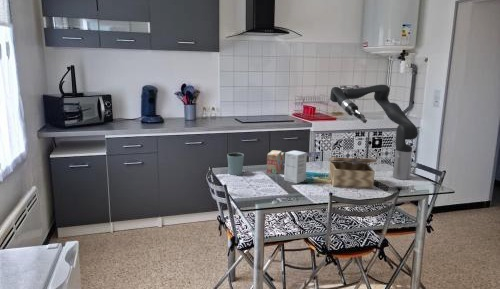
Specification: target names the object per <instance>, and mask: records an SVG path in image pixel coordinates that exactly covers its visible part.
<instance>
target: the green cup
mask: <svg viewBox="0 0 500 289" xmlns="http://www.w3.org/2000/svg"><path fill="white" fill-rule="evenodd" d="M244 159H245V154H244V153H243V152H242V153H241V152H230V153H227V169H228V170H227V173H228V174H229V175H231V176H241V175H243V170H244V168H243V167H244Z"/></svg>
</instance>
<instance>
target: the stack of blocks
mask: <svg viewBox="0 0 500 289" xmlns="http://www.w3.org/2000/svg"><path fill="white" fill-rule="evenodd" d="M283 167H285V152H282V150H275V149H272V150H271V151H270V152H268V153H267V156H266V174H271V175H276V174H278V173H279V172H280V171H281V169H282V168H283Z"/></svg>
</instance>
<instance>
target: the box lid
mask: <svg viewBox="0 0 500 289" xmlns="http://www.w3.org/2000/svg"><path fill="white" fill-rule="evenodd" d="M328 162H351V163H352V164H358V163H367V164H369V163H371V164H372V163H377V159H376V158H375V159H374V158H357V157H356V158H352V157H329V158H328Z"/></svg>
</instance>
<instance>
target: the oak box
mask: <svg viewBox="0 0 500 289" xmlns="http://www.w3.org/2000/svg"><path fill="white" fill-rule="evenodd" d="M328 170H329V171H328V179H329V178H330V179H329V181H330V180H331V181H330V183H331V182H332V183H331V185H333V186H332V187H333V188H347V189H348V188H349V189H366V190H367V189H369V190H372V189H374V183H375V182H374V181H375V170H374V169H373V167H371V166H370V165H369V163H362V162H358V164H352V162H340V161H329V168H328Z"/></svg>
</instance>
